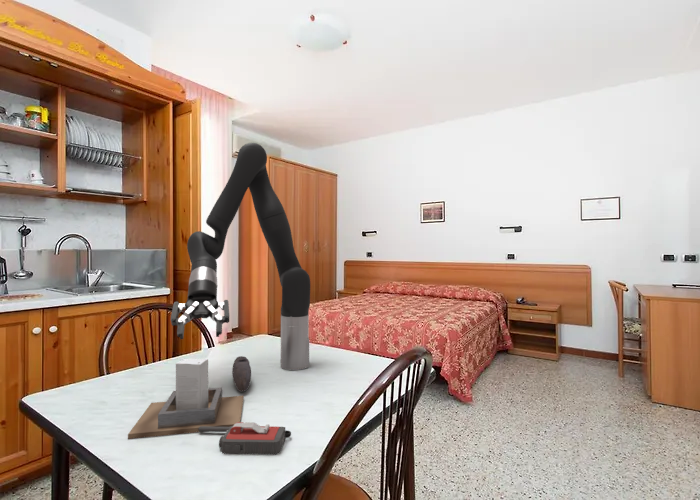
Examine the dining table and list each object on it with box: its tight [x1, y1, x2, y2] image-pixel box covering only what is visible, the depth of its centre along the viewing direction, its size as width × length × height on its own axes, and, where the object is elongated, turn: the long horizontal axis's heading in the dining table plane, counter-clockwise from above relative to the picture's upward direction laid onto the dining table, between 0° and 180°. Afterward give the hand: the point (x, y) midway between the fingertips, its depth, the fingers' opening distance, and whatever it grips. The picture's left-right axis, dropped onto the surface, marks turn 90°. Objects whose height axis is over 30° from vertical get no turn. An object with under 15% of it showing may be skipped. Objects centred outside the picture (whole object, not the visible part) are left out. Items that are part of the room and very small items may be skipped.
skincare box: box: [175, 358, 209, 411], centre depth 87 cm, size 6×4×12 cm
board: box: [127, 395, 245, 440], centre depth 86 cm, size 22×16×1 cm
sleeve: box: [158, 386, 223, 429], centre depth 86 cm, size 11×13×3 cm
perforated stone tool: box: [231, 355, 252, 393], centre depth 106 cm, size 15×5×7 cm, turn 18°
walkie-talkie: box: [198, 421, 292, 456], centre depth 75 cm, size 9×4×20 cm
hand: (199, 336), depth 94 cm, fingers open, 8 cm apart
